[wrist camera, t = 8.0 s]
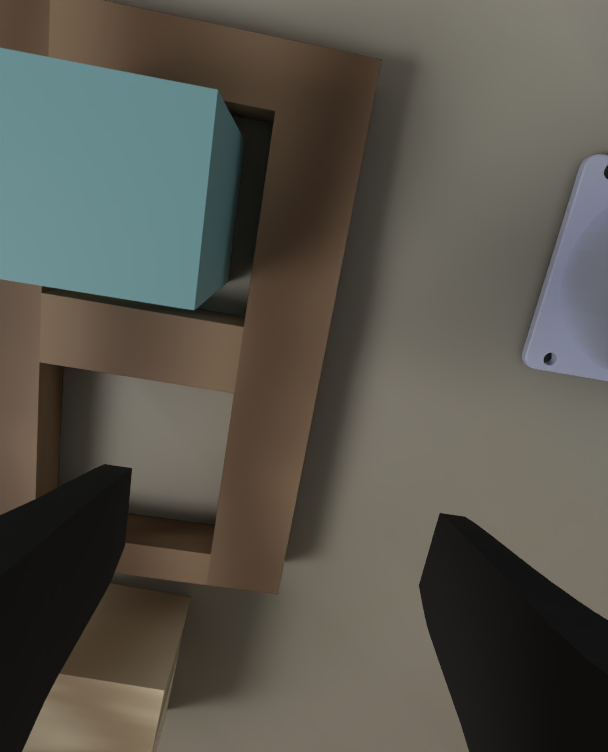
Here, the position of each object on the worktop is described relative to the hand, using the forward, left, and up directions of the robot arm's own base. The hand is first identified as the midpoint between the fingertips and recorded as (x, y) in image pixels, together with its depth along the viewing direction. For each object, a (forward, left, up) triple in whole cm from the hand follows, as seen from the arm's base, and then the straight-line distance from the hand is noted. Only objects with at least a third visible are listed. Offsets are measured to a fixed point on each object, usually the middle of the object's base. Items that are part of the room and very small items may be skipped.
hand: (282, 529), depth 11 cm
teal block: (+6, -7, -10) cm, 13 cm away
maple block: (+5, +10, -7) cm, 14 cm away
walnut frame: (+6, -2, -9) cm, 11 cm away
